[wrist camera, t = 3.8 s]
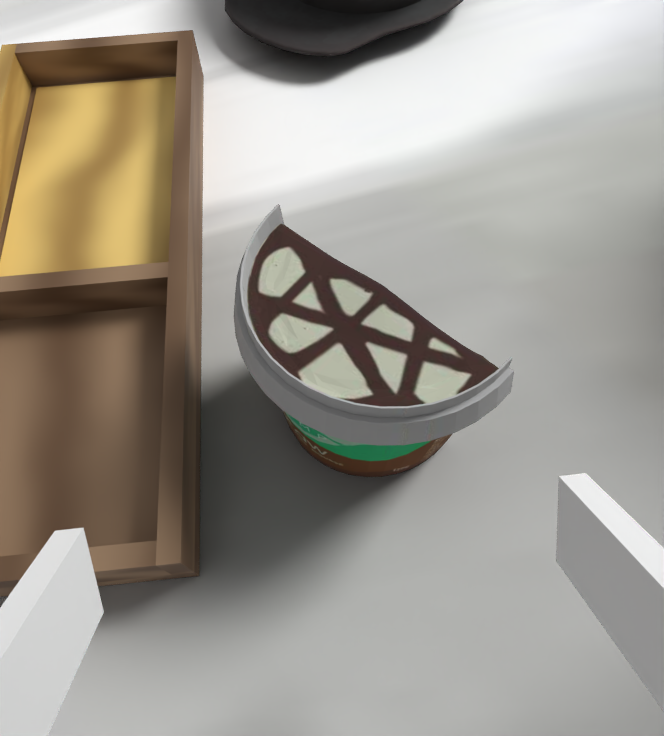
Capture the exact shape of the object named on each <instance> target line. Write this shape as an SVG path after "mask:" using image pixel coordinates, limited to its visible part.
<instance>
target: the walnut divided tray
mask: <svg viewBox="0 0 664 736" xmlns="http://www.w3.org/2000/svg"><path fill="white" fill-rule="evenodd" d="M202 191H203V72H202V68H201V64H200V60H199V55H198V51H197V47H196V43H195V38H194V34H193V30H189V31H176V32H164V33H151V34H138V35H125V36H112V37H99V38H86V39H73V40H60V41H47V42H34V43H21V44H8V45H2V47H1V51H0V597H2V596H9V595H10V593H11V592H12V591H13V589H14V588H15V586H16V585H17V584H18V582H19V581H20V579H21V578H22V576H23V575H24V574H25V572H26V571H27V569H28V568H29V567H30V565H31V564H32V562H33V561H34V560H35V558H36V557H37V555H38V554H39V553H40V551H41V550H42V548H43V547H44V545H45V544H46V543H47V541H48V540H49V538H50V537H51V536H52V534H53V533H54V531H57V530H66V529H75V528H84V532H85V536H86V540H87V544H88V548H89V552H90V556H91V561H92V565H93V569H94V573H95V577H96V581H97V586H107V585H116V584H126V583H135V582H145V581H154V580H164V579H173V578H183V577H193V576H199V559H200V436H201V314H202Z"/></svg>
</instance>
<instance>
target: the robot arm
mask: <svg viewBox="0 0 664 736" xmlns="http://www.w3.org/2000/svg"><path fill="white" fill-rule="evenodd" d="M556 561H557V563H558V564H559V566H560V567H561V568H562V570H563V571H564V573H565V574H566V575H567V577H568V578H569V580H570V581H571V582H572V584H573V585H574V587H575V588H576V589H577V591H578V592H579V594H580V595H581V596H582V598H583V599H584V601H585V602H586V603H587V605H588V606H589V608H590V609H591V610H592V612H593V613H594V615H595V616H596V618H597V619H598V620H599V622H600V623H601V625H602V626H603V627H604V629H605V630H606V632H607V633H608V634H609V636H610V637H611V639H612V640H613V641H614V643H615V644H616V646H617V647H618V648H619V650H620V651H621V653H622V654H623V655H624V657H625V658H626V660H627V661H628V662H629V664H630V665H631V667H632V668H633V669H634V671H635V672H636V674H637V675H638V676H639V678H640V679H641V681H642V682H643V683H644V685H645V686H646V688H647V689H648V690H649V692H650V693H651V695H652V696H653V698H654V699H655V700H656V702H657V703H658V705H659V706H660V707H661V709H662V710H663V712H664V548H663V547H662V546H661V545H660V544H659V543H658V542H657V541H656V540H655V539H654V538H653V537H652V536H651V535H649V534H648V533H647V532H646V531H645V530H644V529H643V528H642V527H641V526H640V525H639V524H638V523H637V522H636V521H635V520H634V519H633V518H632V517H631V516H630V515H629V514H628V513H627V512H626V511H624V510H623V509H622V508H621V507H620V506H619V505H618V504H617V503H616V502H615V501H614V500H613V499H612V498H611V497H610V496H609V495H608V494H607V493H606V492H605V491H604V490H603V489H602V488H601V487H600V486H598V485H597V484H596V483H595V482H594V481H593V480H592V479H591V478H590V477H589V476H588V475H587V474H586V473H583V474H574V475H565V476H559V485H558V517H557V549H556ZM103 613H104V610H103V606H102V602H101V598H100V594H99V590H98V586H97V581H96V577H95V573H94V569H93V565H92V561H91V556H90V552H89V548H88V544H87V540H86V536H85V532H84V528H75V529H66V530H57V531H54V533H53V534H52V536H51V537H50V538H49V540H48V541H47V543H46V544H45V545H44V547H43V548H42V550H41V551H40V553H39V554H38V555H37V557H36V558H35V560H34V561H33V562H32V564H31V565H30V567H29V568H28V569H27V571H26V572H25V574H24V575H23V576H22V578H21V579H20V581H19V582H18V584H17V585H16V586H15V588H14V589H13V591H12V592H11V593H10V595H9V596H8V598H7V599H6V600H5V602H4V603H3V605H2V606H1V607H0V736H48V734H49V732H50V729H51V727H52V725H53V723H54V721H55V719H56V716H57V714H58V712H59V710H60V708H61V705H62V703H63V701H64V699H65V697H66V694H67V692H68V690H69V688H70V686H71V683H72V681H73V679H74V677H75V675H76V672H77V670H78V668H79V666H80V664H81V661H82V659H83V657H84V655H85V653H86V650H87V648H88V646H89V644H90V642H91V639H92V637H93V635H94V633H95V631H96V628H97V626H98V624H99V622H100V620H101V617H102V615H103Z"/></svg>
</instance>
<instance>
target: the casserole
mask: <svg viewBox="0 0 664 736" xmlns="http://www.w3.org/2000/svg"><path fill="white" fill-rule="evenodd" d="M462 1H463V0H225V11H226V12H227V14H228V16H229V17H230V19H231V20H232V22H234V23H235V24H236V25H237V26H238V27H239V28H240V29H242V30H243V31H244V32H245V33H247V34H249V35H250V36H252V37H254V38H256V39H257V40H259V41H261V42H263V43H265V44H268V45H271V46H274V47H276V48H279V49H282V50H286V51H290V52H295V53H299V54H304V55H315V56H335V55H340V54H346V53H348V52H351V51H353V50H355V49H357V48H359V47H361V46H363V45H366V44H368V43H370V42H372V41H374V40H376V39H378V38H381V37H383V36H385V35H388V34H391V33H394V32H398V31H401V30H404V29H408V28H411V27H414V26H417V25H420V24H424V23H427V22H430V21H432V20H434V19H436V18H438V17H440V16H442V15H444V14H446V13H448V12H449V11H450V10H452V9H453V8H454V7H456V6H457V5H458V4H460V3H461V2H462Z"/></svg>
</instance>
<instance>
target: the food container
mask: <svg viewBox="0 0 664 736" xmlns="http://www.w3.org/2000/svg"><path fill="white" fill-rule="evenodd" d="M234 323H235V333H236V339H237V342H238V346H239V349H240V353H241V356H242V358H243V360H244V362H245V364H246V366H247V368H248V370H249V372H250V374H251V376H252V377H253V379H254V380H255V381H256V383H257V384H258V385H259V387H260V388H261V389H262V391H263V392H264V393H265V394H266V395H267V396H268V397H269V398H270V399H271V400H272V401H273V402H274V403H275V404H276V405H277V406H278V407H279V408H281V409H282V410H283V413H284V415H285V417H286V420H287V422H288V424H289V427H290V429H291V431H292V432H293V433H294V435H295V436H296V438H297V439H298V441H299V442H300V444H301V445H302V447H303V448H304V449H305V450H306V451H307V452H308V453H309V454H310V455H311V456H312V457H314V458H315V459H317V460H318V461H320V462H321V463H322V464H324V465H326V466H328V467H330V468H332V469H334V470H336V471H339V472H343V473H346V474H350V475H355V476H363V477H382V476H387V475H393V474H397V473H400V472H403V471H406V470H409V469H411V468H413V467H415V466H417V465H419V464H421V463H423V462H424V461H426V460H427V459H428V458H430V457H431V456H432V455H434V454H435V453H436V452H437V451H438V450H439V449H440V448H441V447H442V445H443V444H444V443H445V442H446V441H447V440H448V439H449V438H450V436H451V435H452V434H453V433H455V432H457V431H459V430H461V429H463V428H465V427H467V426H469V425H471V424H473V423H475V422H477V421H478V420H479V419H481V418H482V417H483V416H485V415H486V414H488V413H489V412H490V411H492V410H493V409H494V408H496V407H497V406H498V405H499V404H500V403H501V401H502V400H503V399H504V398H505V397H506V396H507V395H508V394H509V393H510V392H511V387H512V381H513V374H514V370H512V369H511V368H509V365H510V363H511V360H512V357H510V358H509V359H508V360H507V361H506V362H505V363H504V364H503V365H502V366H501V367H500V368H498V367H496V366H495V365H493V364H492V363H490V362H489V361H488V360H487V359H485V358H484V357H483V356H481V355H479V354H477V353H475V352H473V351H471V350H470V349H468V348H466V347H465V346H463V345H462V344H460V343H459V342H457V341H456V340H454V339H453V338H452V337H450V336H449V335H447V334H446V333H444V332H443V331H441V330H440V329H439V328H437V327H436V326H434V325H433V324H432V323H430V322H429V321H428V320H426V319H425V318H424V317H423V316H421V315H420V314H419V313H418V312H416V311H415V310H414V309H413V308H411V307H410V306H409V305H408V304H406V303H405V302H404V301H403V300H401V299H400V298H399V297H397V296H396V295H395V294H393V293H392V292H391V291H389V290H388V289H387V288H386V287H384V286H383V285H381V284H379V283H378V282H376V281H374V280H372V279H371V278H369V277H367V276H366V275H364V274H362V273H360V272H358V271H356V270H354V269H352V268H350V267H349V266H347V265H345V264H343V263H341V262H340V261H338V260H336V259H334V258H333V257H331V256H330V255H328V254H327V253H325V252H324V251H322V250H321V249H319V248H318V247H316V246H315V245H313V244H312V243H310V242H309V241H307V240H306V239H304V238H303V237H301V236H300V235H298V234H297V233H295V232H294V231H292V230H291V229H289V228H288V227H286V226H285V225H284V222H283V217H282V213H281V209H280V205H279V204H278V205H277V206H276V207H275V208H274V209H273V210H272V211H271V212H270V213H269V214H268V215H267V216H266V217H265V218H264V220H263V221H262V222H261V224H260V225H259V227H258V228H257V229H256V231H255V232H254V234H253V236H252V238H251V240H250V242H249V244H248V246H247V248H246V252H245V253H244V255H243V258H242V261H241V264H240V268H239V271H238V275H237V282H236V292H235V306H234Z"/></svg>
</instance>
